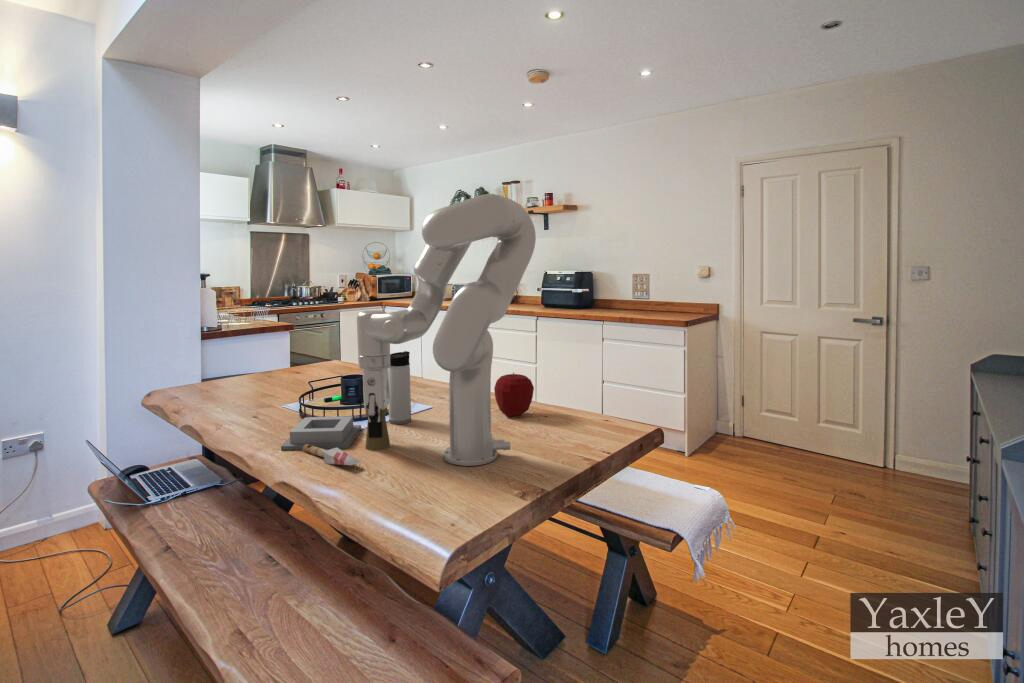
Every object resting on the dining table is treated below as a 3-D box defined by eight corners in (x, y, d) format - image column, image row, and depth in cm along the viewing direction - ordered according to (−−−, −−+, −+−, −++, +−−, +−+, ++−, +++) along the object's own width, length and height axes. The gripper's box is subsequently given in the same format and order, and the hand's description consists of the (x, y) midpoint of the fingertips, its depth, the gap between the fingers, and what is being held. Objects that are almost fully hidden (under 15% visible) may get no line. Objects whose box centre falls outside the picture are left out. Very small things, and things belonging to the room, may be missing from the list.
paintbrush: (347, 459, 116) (298, 444, 128) (348, 471, 116) (299, 455, 128) (362, 454, 119) (313, 440, 131) (363, 466, 119) (314, 451, 131)
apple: (534, 421, 153) (534, 376, 151) (493, 421, 153) (493, 376, 151) (533, 410, 165) (533, 368, 163) (495, 410, 165) (495, 367, 163)
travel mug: (416, 420, 154) (414, 352, 151) (397, 426, 149) (395, 355, 146) (403, 416, 158) (401, 350, 155) (384, 421, 153) (382, 352, 150)
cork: (395, 445, 134) (393, 402, 132) (377, 452, 129) (375, 407, 127) (378, 440, 137) (376, 399, 135) (359, 447, 132) (358, 404, 130)
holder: (361, 428, 147) (360, 414, 146) (348, 448, 131) (347, 432, 131) (301, 429, 146) (300, 415, 145) (281, 450, 130) (280, 434, 129)
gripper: (384, 368, 122) (387, 445, 124) (395, 355, 138) (397, 423, 141) (351, 368, 121) (354, 446, 124) (365, 355, 138) (368, 424, 140)
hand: (377, 433), depth 132 cm, fingers closed on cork, 4 cm apart
